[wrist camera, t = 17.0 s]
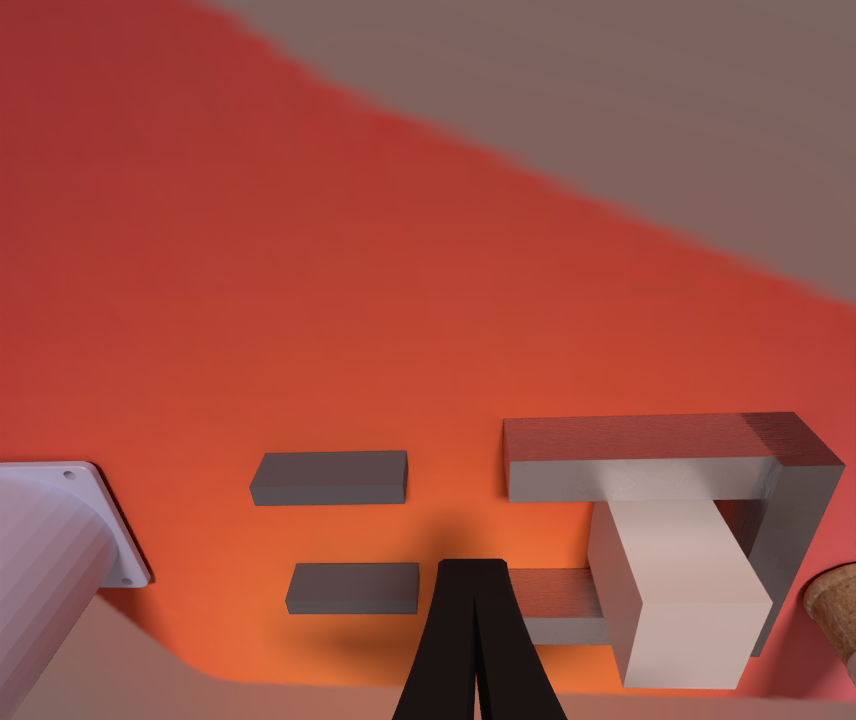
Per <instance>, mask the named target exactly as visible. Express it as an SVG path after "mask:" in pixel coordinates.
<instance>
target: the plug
mask: <svg viewBox="0 0 856 720" xmlns="http://www.w3.org/2000/svg"><path fill="white" fill-rule="evenodd" d="M587 557H588V561H589V564H590V568H591V572H592V575H593V579H594V583H595V586H596V590H597V594H598V597H599V601H600V605H601V609H602V612H603V616H604V620H605V623H606V627H607V631H608V634H609V638H610V642H611V645H612V649H613V653H614V657H615V660H616V664H617V668H618V671H619V675H620V679H621V682H622V686H623V688H670V689H736V687H737V684H738V682H739V680H740V677H741V675H742V673H743V671H744V668H745V666H746V664H747V662H748V659H749V657H750V655H751V652H752V650H753V648H754V646H755V643H756V641H757V639H758V636H759V634H760V632H761V630H762V627H763V625H764V623H765V620H766V618H767V616H768V614H769V611H770V609H771V607H772V604H773V602H772V600H771V599H770V597H769V595H768V594H767V592H766V590H765V589H764V587H763V585H762V583H761V582H760V580H759V578H758V577H757V575H756V573H755V572H754V570H753V568H752V566H751V565H750V563H749V561H748V560H747V558H746V556H745V555H744V553H743V551H742V550H741V548H740V546H739V544H738V543H737V541H736V539H735V538H734V536H733V534H732V533H731V531H730V529H729V527H728V526H727V524H726V522H725V521H724V519H723V517H722V516H721V514H720V512H719V511H718V509H717V507H716V505H715V504H714V502H713V500H662V501H594V505H593V512H592V520H591V527H590V534H589V541H588V549H587Z"/></svg>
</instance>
